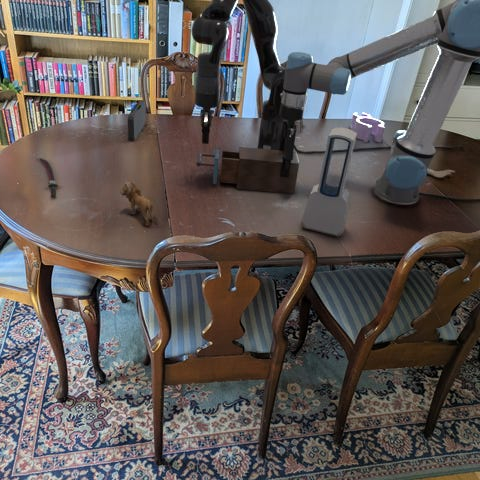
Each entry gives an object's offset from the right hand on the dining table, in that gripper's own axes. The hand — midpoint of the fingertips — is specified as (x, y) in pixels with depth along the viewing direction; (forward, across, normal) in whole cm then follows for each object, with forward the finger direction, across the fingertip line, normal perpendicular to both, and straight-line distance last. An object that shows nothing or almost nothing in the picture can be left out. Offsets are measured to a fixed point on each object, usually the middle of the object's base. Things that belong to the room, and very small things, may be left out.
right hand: (282, 170), depth 159 cm
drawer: (+5, 0, -17) cm, 18 cm away
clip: (+6, -60, +45) cm, 76 cm away
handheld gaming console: (+6, -41, -56) cm, 70 cm away
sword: (+6, +6, -77) cm, 77 cm away
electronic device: (+6, +27, +10) cm, 30 cm away
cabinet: (+6, 0, -6) cm, 8 cm away
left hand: (-8, 0, -27) cm, 28 cm away
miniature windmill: (+6, -62, +12) cm, 63 cm away
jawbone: (+6, -26, +63) cm, 68 cm away
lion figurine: (+6, +27, -44) cm, 52 cm away
